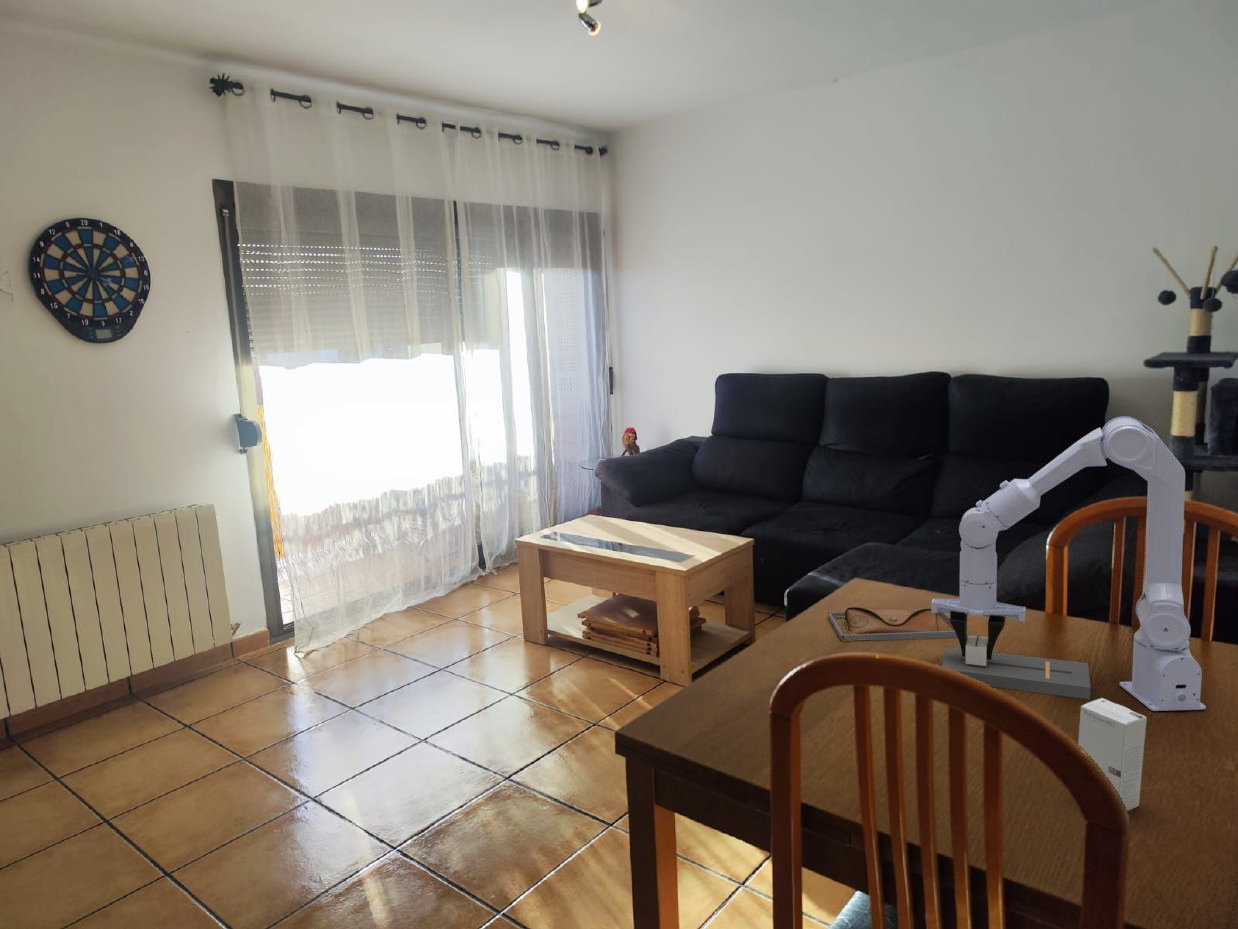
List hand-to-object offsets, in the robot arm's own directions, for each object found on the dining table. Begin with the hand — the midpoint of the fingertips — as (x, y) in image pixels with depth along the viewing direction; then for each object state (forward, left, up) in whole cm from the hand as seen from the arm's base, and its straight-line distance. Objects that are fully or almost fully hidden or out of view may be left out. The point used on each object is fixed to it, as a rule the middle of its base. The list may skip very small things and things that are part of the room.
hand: (976, 656), depth 143 cm
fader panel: (-2, -5, -3) cm, 7 cm away
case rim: (+22, +8, -3) cm, 24 cm away
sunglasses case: (+21, +8, -4) cm, 23 cm away
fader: (0, 0, -1) cm, 1 cm away
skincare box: (-39, -2, -3) cm, 39 cm away
